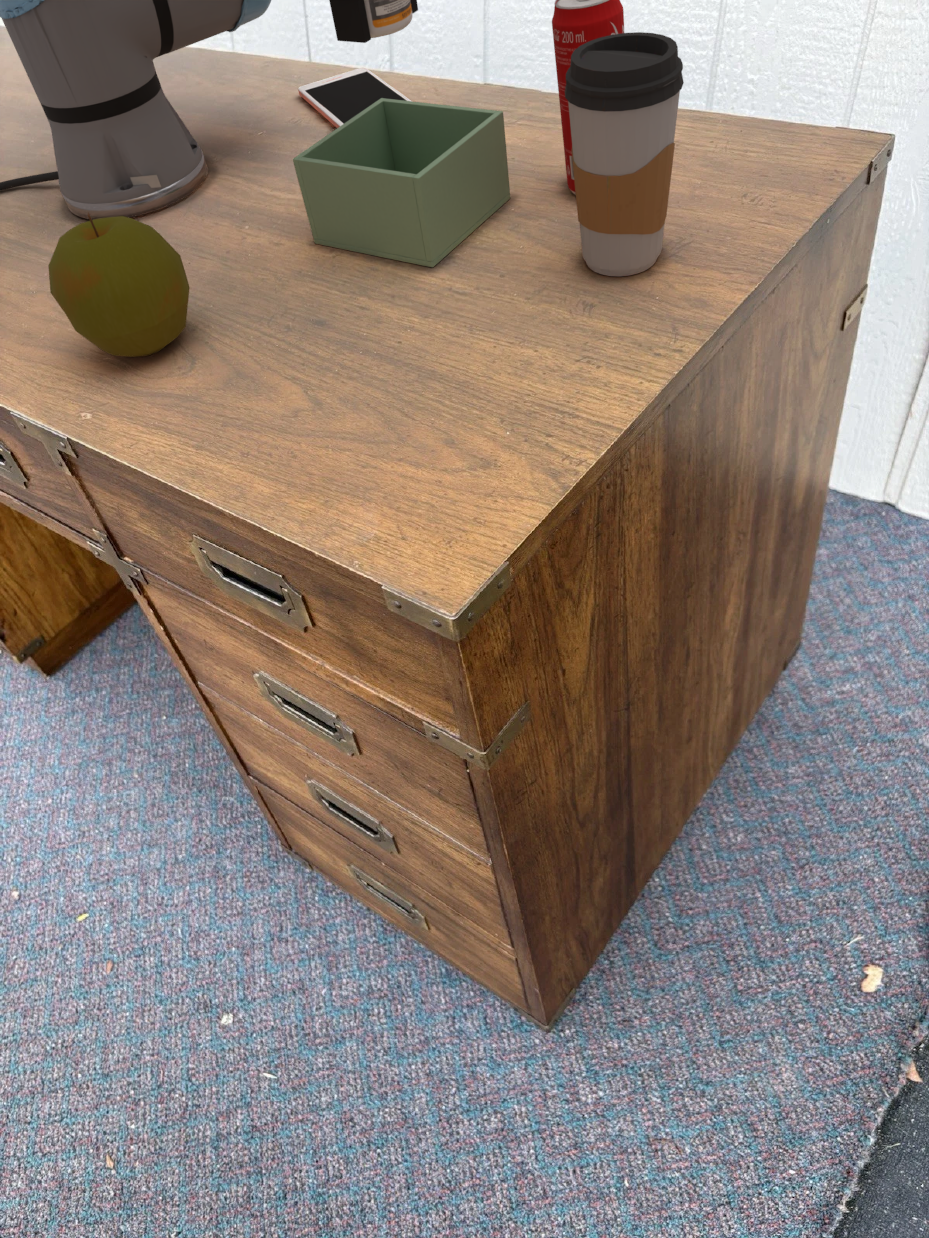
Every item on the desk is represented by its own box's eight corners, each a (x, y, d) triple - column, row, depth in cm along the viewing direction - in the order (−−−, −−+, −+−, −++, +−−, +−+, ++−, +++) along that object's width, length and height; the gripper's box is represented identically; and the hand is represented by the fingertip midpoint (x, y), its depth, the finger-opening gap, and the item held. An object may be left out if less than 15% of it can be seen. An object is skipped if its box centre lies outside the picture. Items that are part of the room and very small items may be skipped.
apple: (224, 312, 74) (176, 180, 66) (174, 380, 69) (114, 245, 60) (123, 310, 77) (64, 182, 69) (66, 375, 71) (-7, 245, 63)
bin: (314, 243, 80) (292, 159, 75) (396, 180, 87) (381, 98, 81) (433, 268, 75) (418, 178, 69) (510, 198, 81) (503, 111, 76)
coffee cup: (606, 224, 76) (606, 25, 64) (693, 245, 72) (708, 36, 60) (550, 270, 72) (539, 66, 61) (638, 294, 68) (643, 81, 57)
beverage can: (627, 199, 78) (630, 3, 67) (555, 202, 80) (545, 10, 68) (632, 170, 82) (636, -22, 71) (563, 172, 83) (556, -15, 72)
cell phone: (351, 142, 94) (349, 133, 93) (298, 95, 105) (296, 87, 105) (425, 118, 96) (424, 109, 95) (365, 75, 107) (364, 66, 106)
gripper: (240, -428, 45) (344, 74, 62) (440, -458, 54) (481, -13, 72) (140, -405, 48) (266, 67, 66) (345, -437, 57) (407, -16, 75)
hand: (378, 24), depth 69 cm, fingers closed on pill bottle, 6 cm apart
